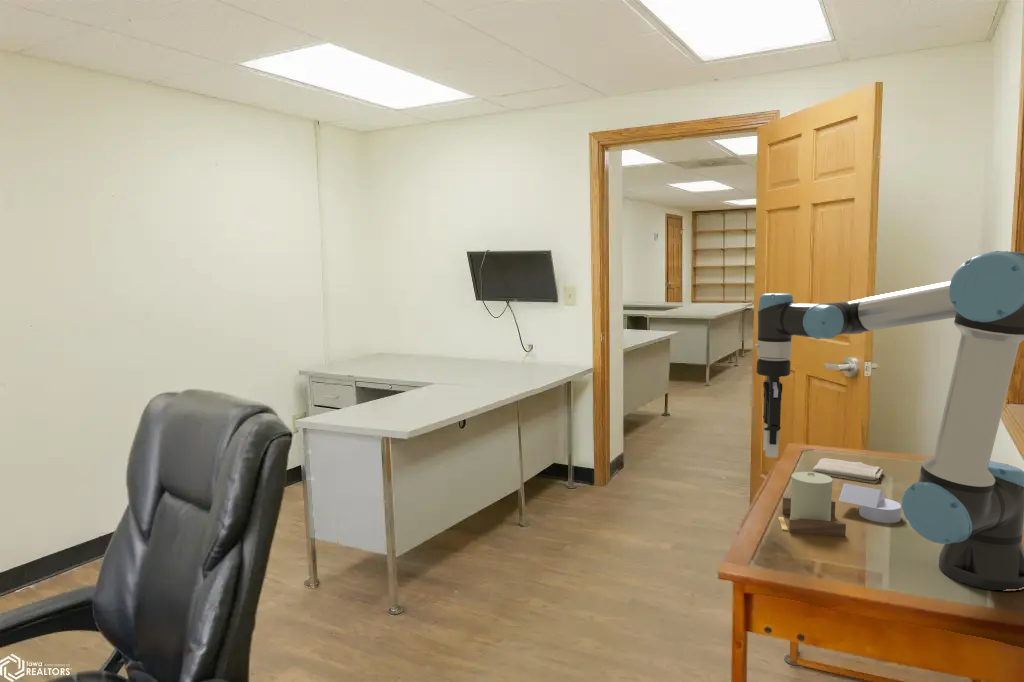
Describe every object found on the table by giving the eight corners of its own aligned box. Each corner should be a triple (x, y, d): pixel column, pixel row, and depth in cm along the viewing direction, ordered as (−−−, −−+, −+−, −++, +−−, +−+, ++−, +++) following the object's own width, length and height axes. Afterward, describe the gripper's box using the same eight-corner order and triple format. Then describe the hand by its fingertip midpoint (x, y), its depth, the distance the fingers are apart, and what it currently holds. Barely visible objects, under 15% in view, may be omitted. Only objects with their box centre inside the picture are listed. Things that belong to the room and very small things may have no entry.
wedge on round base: (837, 513, 171) (896, 526, 163) (838, 487, 170) (897, 498, 162) (847, 503, 178) (903, 515, 170) (848, 478, 177) (905, 488, 169)
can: (827, 518, 168) (829, 471, 166) (834, 532, 159) (836, 482, 158) (787, 515, 170) (789, 468, 169) (791, 528, 162) (793, 479, 160)
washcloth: (878, 486, 193) (879, 475, 192) (810, 475, 203) (811, 465, 202) (883, 475, 202) (884, 465, 202) (818, 465, 213) (819, 455, 212)
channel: (845, 536, 157) (846, 519, 156) (782, 531, 160) (783, 514, 160) (833, 515, 169) (834, 500, 169) (775, 511, 173) (776, 495, 172)
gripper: (753, 353, 172) (751, 443, 175) (760, 363, 155) (757, 463, 158) (785, 353, 170) (782, 444, 173) (796, 364, 153) (792, 465, 156)
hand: (770, 453), depth 165 cm, fingers open, 5 cm apart
